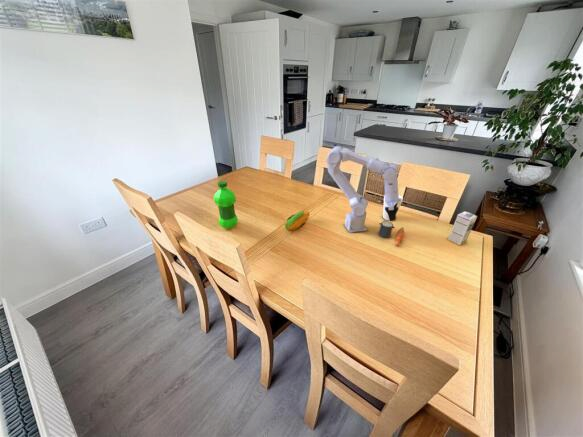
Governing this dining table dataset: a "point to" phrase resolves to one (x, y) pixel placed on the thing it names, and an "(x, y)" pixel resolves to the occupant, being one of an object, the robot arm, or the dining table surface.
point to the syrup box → (462, 227)
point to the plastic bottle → (226, 206)
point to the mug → (385, 229)
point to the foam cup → (388, 206)
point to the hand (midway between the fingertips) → (392, 216)
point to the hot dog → (296, 221)
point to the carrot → (399, 236)
